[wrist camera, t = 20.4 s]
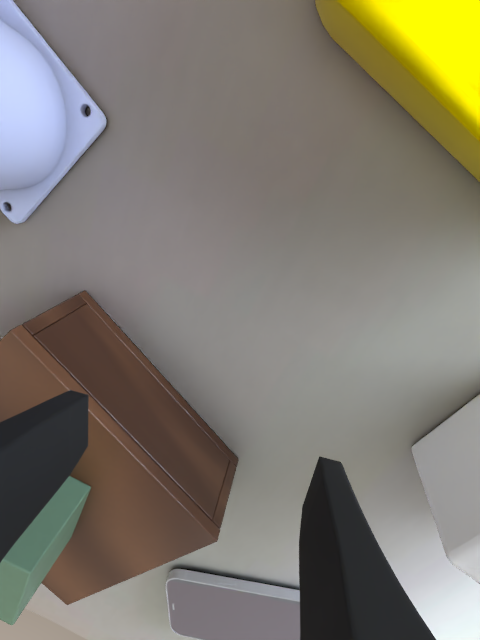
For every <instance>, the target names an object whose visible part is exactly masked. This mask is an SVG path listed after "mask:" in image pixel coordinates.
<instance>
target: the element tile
mask: <svg viewBox="0 0 480 640" xmlns="http://www.w3.org/2000/svg"><path fill="white" fill-rule="evenodd" d="M315 5H316V8H317V11H318V13H319V16H320V18H321V21H322V24H323V26H324V27H325V29H326V30H327V32H328V33H329V34H330V36H331V37H332V39H333V40H334V41H335V42H336V43H337V44H338V45H339V46H341V47H342V48H343V49H344V50H345V51H346V52H347V53H348V54H349V55H350V56H351V57H352V58H353V59H354V60H355V61H356V62H357V63H358V64H359V65H360V66H361V67H362V68H363V69H364V70H365V71H366V72H367V73H368V74H369V75H370V76H371V77H372V78H373V79H374V80H375V81H376V82H377V83H378V84H380V85H381V86H382V87H383V88H384V89H385V90H386V91H387V92H388V93H389V94H390V95H391V96H392V97H393V98H394V99H395V100H396V101H397V102H398V103H399V104H400V105H401V106H402V107H403V108H404V109H405V110H406V111H407V112H408V113H409V114H410V115H411V116H412V117H413V118H414V119H415V120H416V121H417V122H419V123H420V124H421V125H422V126H423V127H424V128H425V129H426V130H427V131H428V132H429V133H430V134H431V135H432V136H433V137H434V138H435V139H436V140H437V141H438V142H439V143H440V144H441V145H442V146H443V147H444V148H445V149H446V150H447V151H448V152H449V153H450V154H451V155H452V156H453V157H454V158H455V159H457V160H458V161H459V162H460V163H461V164H462V165H463V166H464V167H465V168H466V169H467V170H468V171H469V172H470V173H471V174H472V175H473V176H474V177H475V178H476V179H477V180H478V181H479V182H480V0H315Z"/></svg>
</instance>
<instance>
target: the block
mask: <svg viewBox="0 0 480 640" xmlns="http://www.w3.org/2000/svg"><path fill="white" fill-rule="evenodd" d="M90 489H91V487H90V486H89V485H87V484H85V483H83V482H81V481H79V480H77V479H75V478H73V477H71V476H69V477H68V478H67V479H66V481H65V482H64V483H63V484H62V486H61V487H60V488H59V489H58V491H57V492H56V493H55V494H54V496H53V497H52V498H51V499H50V501H49V502H48V503H47V504H46V506H45V507H44V508H43V509H42V510H41V512H40V513H39V514H38V515H37V517H36V518H35V519H34V520H33V521H32V523H31V524H30V525H29V526H28V528H27V529H26V530H25V531H24V533H23V534H22V535H21V536H20V537H19V539H18V540H17V541H16V542H15V544H14V545H13V546H12V548H11V549H10V550H9V552H8V553H7V554H6V556H5V557H4V558H3V560H2V561H1V563H0V620H2V621H4V622H6V623H8V624H10V625H13V624H14V623H15V622H16V620H17V619H18V617H19V616H20V614H21V613H22V611H23V610H24V608H25V607H26V605H27V604H28V602H29V601H30V599H31V597H32V596H33V594H34V593H35V591H36V590H37V588H38V587H39V585H40V584H41V582H42V581H43V579H44V578H45V576H46V575H47V573H48V572H49V570H50V569H51V567H52V566H53V564H54V563H55V561H56V560H57V558H58V557H59V555H60V554H61V552H62V551H63V549H64V548H65V546H66V544H67V543H68V541H69V540H70V538H71V537H72V534H73V532H74V529H75V527H76V524H77V522H78V519H79V517H80V514H81V512H82V509H83V507H84V504H85V502H86V499H87V497H88V494H89V492H90Z"/></svg>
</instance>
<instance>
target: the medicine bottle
mask: <svg viewBox="0 0 480 640" xmlns="http://www.w3.org/2000/svg"><path fill="white" fill-rule="evenodd" d="M412 454H413V457H414V460H415V463H416V466H417V469H418V472H419V475H420V478H421V481H422V484H423V487H424V490H425V493H426V496H427V499H428V502H429V505H430V508H431V511H432V514H433V517H434V520H435V523H436V526H437V529H438V532H439V535H440V538H441V541H442V544H443V547H444V550H445V553H446V556H447V558H448V560H449V561H450V563H451V564H452V565H454V566H455V567H456V568H458V569H459V570H461V571H462V572H464V573H465V574H466V575H468V576H469V577H471V578H472V579H474V580H475V581H476V582H478V583H479V584H480V394H479V395H478V396H477V397H475V398H474V399H473V400H471V401H470V402H469V403H468V404H466V405H465V406H464V407H462V408H461V409H460V410H458V411H457V412H456V413H455V414H453V415H452V416H451V417H449V418H448V419H447V420H446V421H444V422H443V423H442V424H440V425H439V426H438V427H436V428H435V429H434V430H433V431H431V432H430V433H429V434H427V435H426V436H425V437H424V438H422V439H421V440H420V441H418V442H417V443H416V444H414V445H413V447H412Z"/></svg>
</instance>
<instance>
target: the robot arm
mask: <svg viewBox="0 0 480 640" xmlns="http://www.w3.org/2000/svg"><path fill="white" fill-rule="evenodd" d="M87 106H89V107H90V109H91V114H90V116H88V117H87V115H86V114H85V109H86V107H87ZM106 122H107V121H106V117H105V115H104V113H103V112H102V111H101V109H100V108H99V107H98V106H97V104H96V103H95V102H94V101H93V100H92V98H91V97H90V96H89V95H88V93H87V92H86V91H85V90H84V88H83V87H82V86H81V85H80V83H79V82H78V81H77V80H76V78H75V77H74V76H73V75H72V73H71V72H70V71H69V70H68V68H67V67H66V66H65V65H64V64H63V62H62V61H61V60H60V59H59V57H58V56H57V55H56V54H55V52H54V51H53V50H52V49H51V47H50V46H49V45H48V44H47V42H46V41H45V40H44V39H43V37H42V36H41V35H40V34H39V32H38V31H37V30H36V29H35V28H34V26H33V25H32V24H31V23H30V21H29V20H28V19H27V18H26V16H25V15H24V14H23V13H22V11H21V10H20V9H19V8H18V6H17V5H16V4H15V3H14V1H13V0H0V210H1V211H2V212H3V213H4V215H5V216H6V217H7V218H8V219H9V220H10V221H11V222H12V223H15V224H19V223H23V222H25V221H26V220H27V218H28V217H29V216H30V215H31V214H32V213H33V211H34V210H35V209H36V208H37V207H38V206H39V205H40V203H41V202H42V201H43V200H44V199H45V198H46V196H47V195H48V194H49V193H50V192H51V191H52V189H53V188H54V187H55V186H56V185H57V184H58V182H59V181H60V180H61V179H62V178H63V177H64V175H65V174H66V173H67V172H68V171H69V170H70V169H71V167H72V166H73V165H74V164H75V163H76V162H77V160H78V159H79V158H80V157H81V156H82V155H83V153H84V152H85V151H86V150H87V149H88V148H89V146H90V145H91V144H92V143H93V142H94V141H95V139H96V138H97V137H98V136H99V135H100V134H101V133H102V131H103V130H104V129H105V127H106ZM8 203H9V204H10V205H11V208H12V209H11V210H10V209H9V207H8ZM88 402H89V395H87V394H84V393H80V392H76V391H72V390H69V391H67V392H64V393H62V394H60V395H58V396H56V397H53V398H51V399H49V400H47V401H45V402H43V403H41V404H39V405H36V406H34V407H32V408H30V409H28V410H26V411H24V412H22V413H19V414H17V415H15V416H13V417H11V418H9V419H6V420H4V421H2V422H0V563H1V561H2V560H3V558H4V557H5V556H6V554H7V553H8V552H9V550H10V549H11V548H12V546H13V545H14V544H15V542H16V541H17V540H18V539H19V537H20V536H21V535H22V534H23V533H24V531H25V530H26V529H27V528H28V526H29V525H30V524H31V523H32V521H33V520H34V519H35V518H36V517H37V515H38V514H39V513H40V512H41V510H42V509H43V508H44V507H45V506H46V504H47V503H48V502H49V501H50V499H51V498H52V497H53V496H54V494H55V493H56V492H57V491H58V489H59V488H60V487H61V486H62V484H63V483H64V482H65V481H66V479H67V478H68V477H69V476H70V474H71V472H72V471H73V469H74V468H75V466H76V465H77V463H78V462H79V460H80V458H81V457H82V455H83V453H84V452H85V450H86V448H87V447H88ZM299 576H300V640H436V639H435V637H434V636H433V634H432V633H431V631H430V630H429V628H428V627H427V625H426V624H425V622H424V621H423V619H422V618H421V616H420V615H419V613H418V612H417V610H416V609H415V607H414V605H413V604H412V602H411V601H410V599H409V597H408V596H407V594H406V593H405V591H404V589H403V588H402V586H401V584H400V583H399V581H398V579H397V577H396V576H395V574H394V572H393V570H392V569H391V567H390V565H389V563H388V561H387V560H386V558H385V556H384V554H383V552H382V550H381V548H380V547H379V545H378V543H377V541H376V539H375V537H374V535H373V533H372V531H371V529H370V527H369V525H368V523H367V520H366V518H365V516H364V514H363V512H362V510H361V508H360V506H359V503H358V501H357V499H356V497H355V494H354V492H353V490H352V487H351V485H350V482H349V480H348V478H347V475H346V473H345V470H344V467H343V465H342V464H341V462H338V461H334V460H330V459H327V458H323V457H319V459H318V462H317V465H316V468H315V471H314V474H313V477H312V480H311V483H310V486H309V489H308V492H307V495H306V498H305V501H304V504H303V508H302V518H301V528H300V539H299Z"/></svg>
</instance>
